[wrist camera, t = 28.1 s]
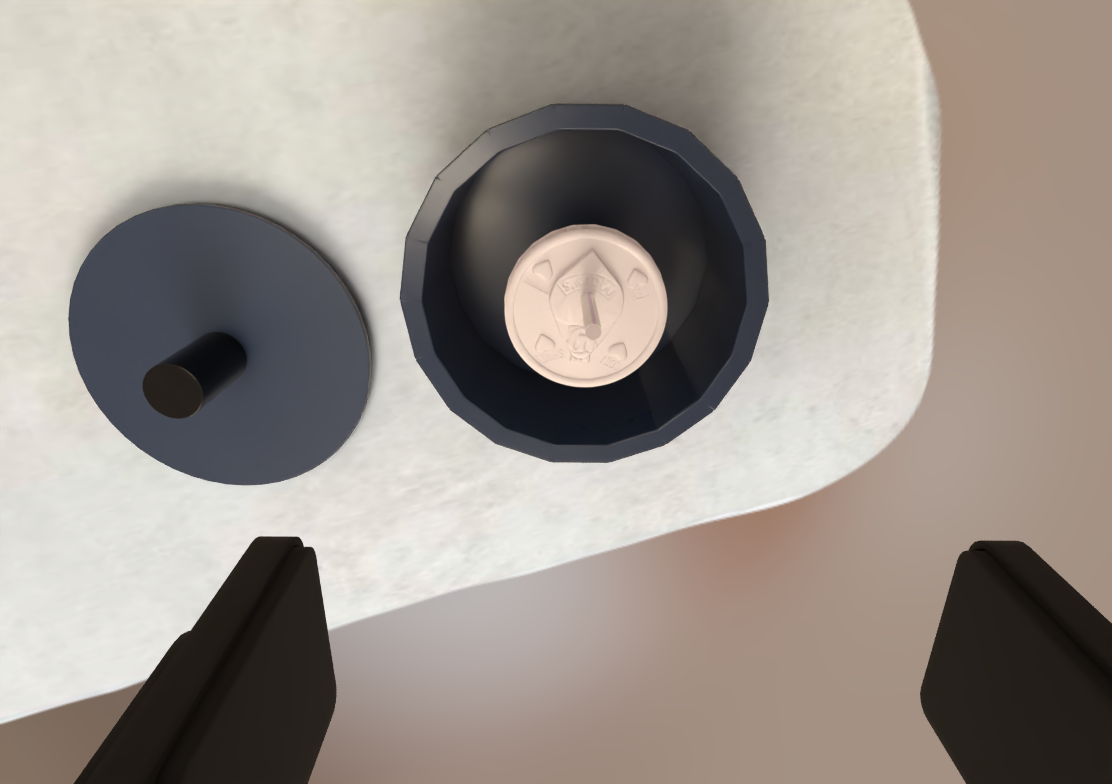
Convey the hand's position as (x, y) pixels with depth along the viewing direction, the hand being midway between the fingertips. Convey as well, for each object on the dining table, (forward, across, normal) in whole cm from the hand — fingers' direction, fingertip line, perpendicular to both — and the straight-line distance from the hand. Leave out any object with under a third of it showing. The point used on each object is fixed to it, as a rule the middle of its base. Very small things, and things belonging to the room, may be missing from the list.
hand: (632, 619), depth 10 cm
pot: (+28, 0, 0) cm, 28 cm away
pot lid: (+27, +19, +6) cm, 33 cm away
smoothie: (+27, 0, 0) cm, 27 cm away
